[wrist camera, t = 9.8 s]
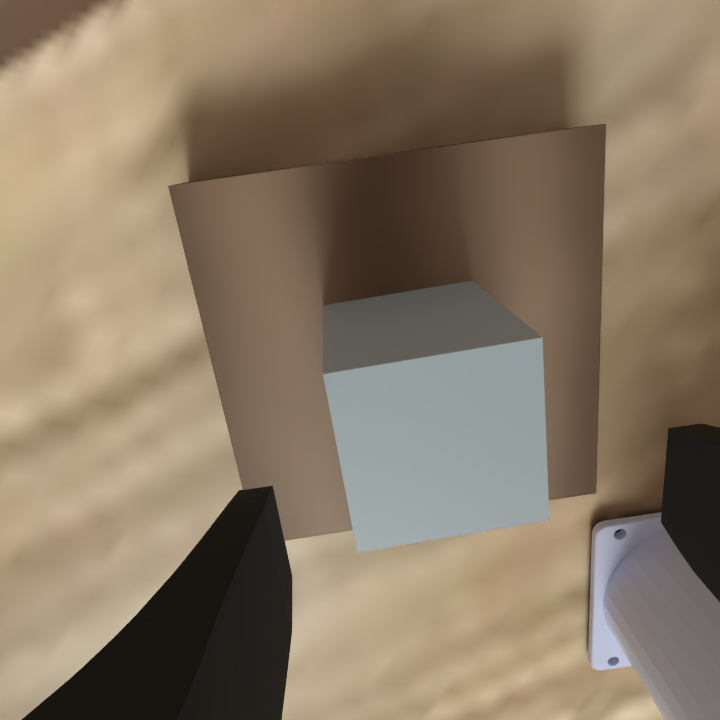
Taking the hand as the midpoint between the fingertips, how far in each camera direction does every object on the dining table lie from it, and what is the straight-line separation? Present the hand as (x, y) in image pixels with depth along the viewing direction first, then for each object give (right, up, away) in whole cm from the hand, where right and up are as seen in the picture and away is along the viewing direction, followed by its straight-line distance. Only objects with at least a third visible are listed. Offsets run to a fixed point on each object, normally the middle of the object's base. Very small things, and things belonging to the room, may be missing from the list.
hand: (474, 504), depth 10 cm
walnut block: (-1, +4, +10) cm, 10 cm away
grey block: (-1, +3, +7) cm, 8 cm away
